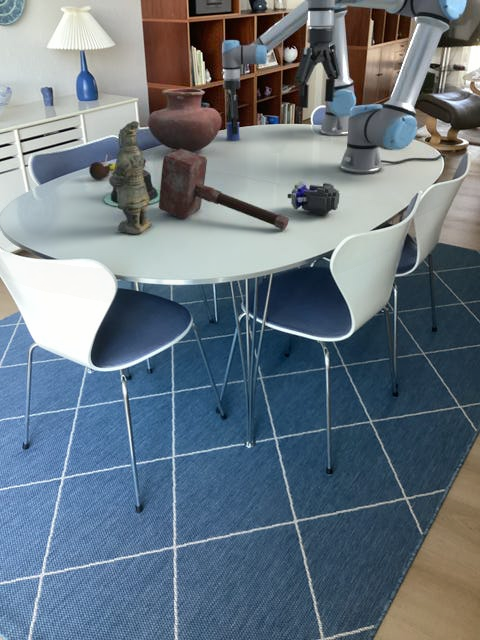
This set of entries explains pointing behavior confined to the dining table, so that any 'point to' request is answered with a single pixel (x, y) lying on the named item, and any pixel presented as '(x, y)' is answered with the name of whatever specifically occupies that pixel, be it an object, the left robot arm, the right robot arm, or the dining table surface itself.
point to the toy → (315, 198)
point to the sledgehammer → (200, 190)
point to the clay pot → (185, 121)
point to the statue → (131, 182)
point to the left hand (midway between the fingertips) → (232, 132)
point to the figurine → (102, 169)
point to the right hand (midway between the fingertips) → (316, 104)
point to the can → (229, 133)
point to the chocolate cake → (152, 192)
